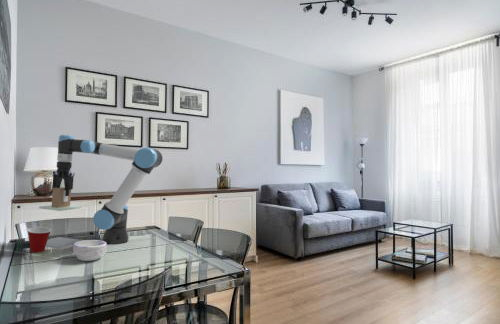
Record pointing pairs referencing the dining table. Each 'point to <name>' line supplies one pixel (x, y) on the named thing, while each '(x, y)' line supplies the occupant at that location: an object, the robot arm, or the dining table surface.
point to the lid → (60, 201)
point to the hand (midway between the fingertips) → (61, 201)
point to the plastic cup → (38, 238)
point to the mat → (60, 242)
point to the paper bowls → (89, 249)
